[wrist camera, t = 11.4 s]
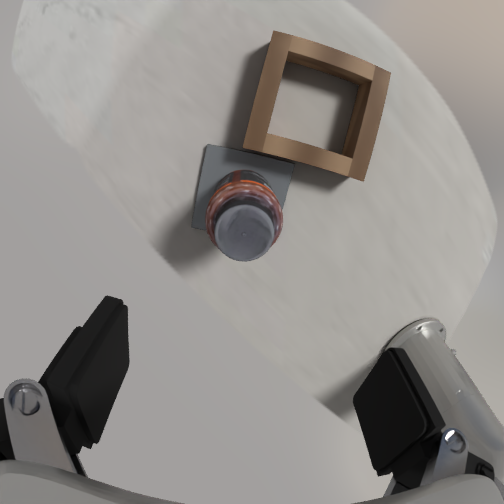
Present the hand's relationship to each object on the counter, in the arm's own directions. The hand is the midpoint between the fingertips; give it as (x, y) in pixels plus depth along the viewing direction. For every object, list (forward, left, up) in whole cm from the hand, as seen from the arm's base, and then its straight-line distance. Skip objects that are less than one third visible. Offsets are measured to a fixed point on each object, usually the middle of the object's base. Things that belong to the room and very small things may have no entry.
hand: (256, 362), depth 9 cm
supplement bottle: (+1, -1, -22) cm, 22 cm away
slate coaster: (+1, -1, -22) cm, 22 cm away
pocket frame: (-4, -12, -22) cm, 26 cm away
